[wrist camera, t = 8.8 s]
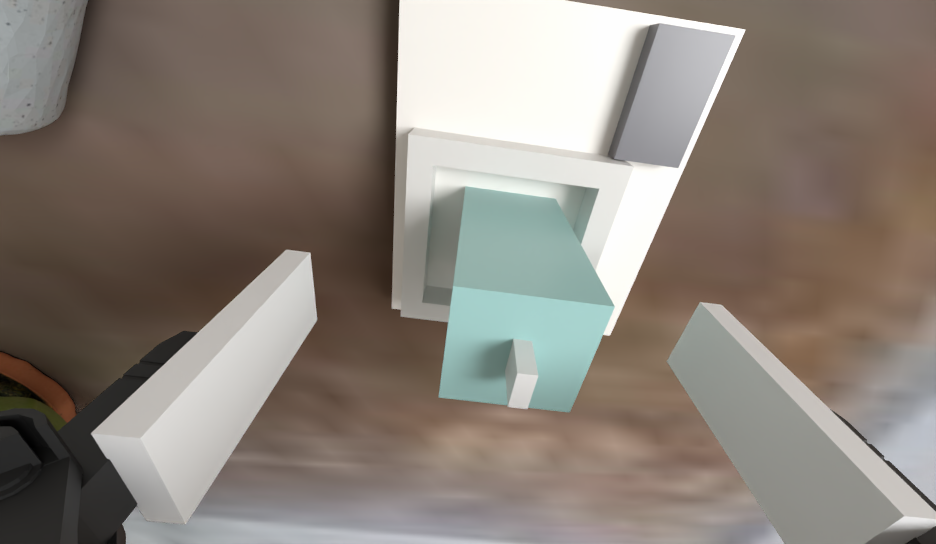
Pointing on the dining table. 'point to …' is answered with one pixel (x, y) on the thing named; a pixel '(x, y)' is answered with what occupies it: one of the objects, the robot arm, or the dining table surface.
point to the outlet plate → (544, 127)
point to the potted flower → (33, 391)
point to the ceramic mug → (36, 60)
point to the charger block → (520, 305)
